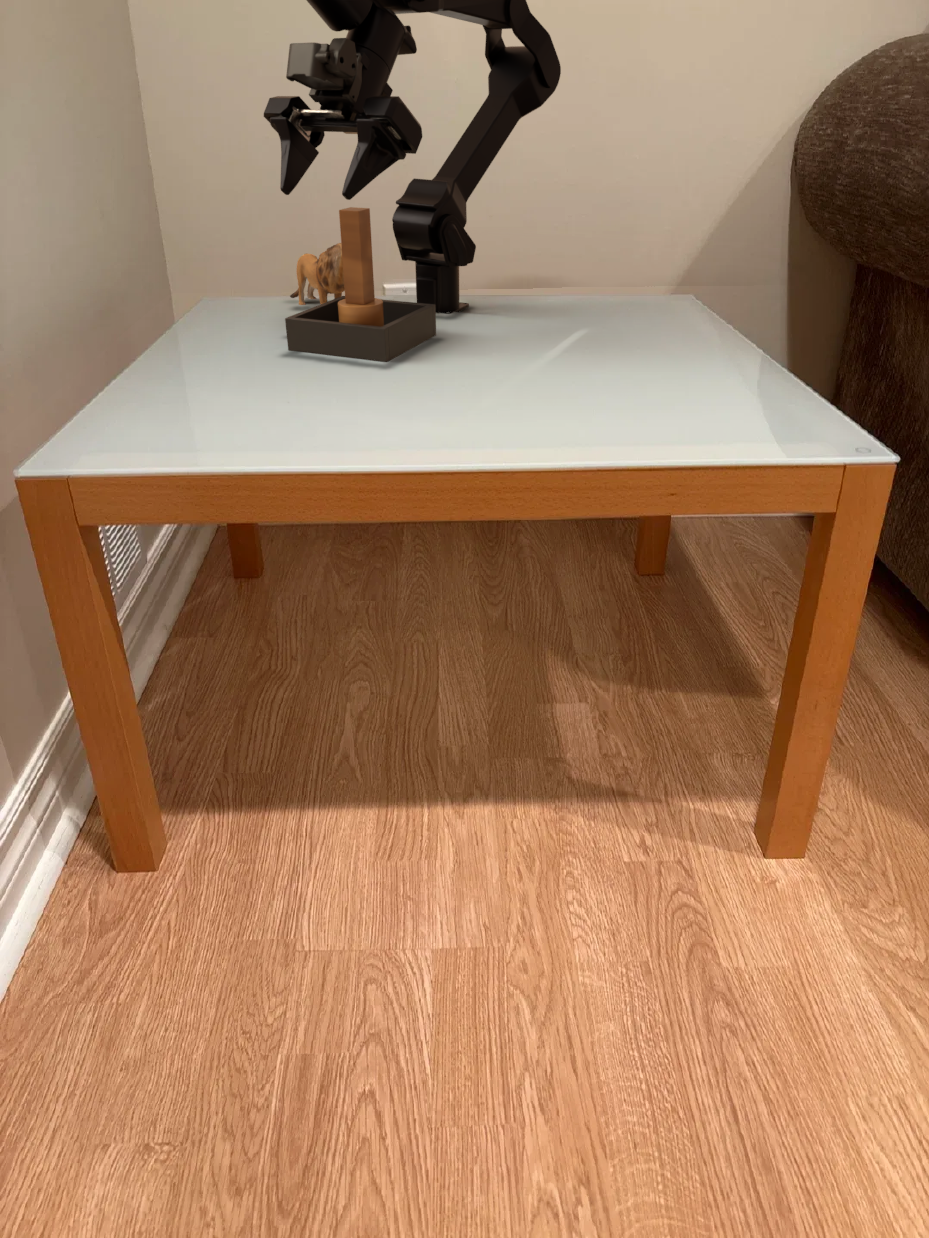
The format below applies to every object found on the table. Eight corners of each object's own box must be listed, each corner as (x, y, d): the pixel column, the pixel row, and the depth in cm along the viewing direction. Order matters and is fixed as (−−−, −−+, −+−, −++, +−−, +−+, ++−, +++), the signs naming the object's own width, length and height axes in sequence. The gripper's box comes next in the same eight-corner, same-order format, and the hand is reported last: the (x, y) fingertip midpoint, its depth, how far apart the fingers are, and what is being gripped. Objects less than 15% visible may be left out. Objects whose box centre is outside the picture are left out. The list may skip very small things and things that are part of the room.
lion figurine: (372, 315, 120) (367, 242, 116) (339, 322, 117) (334, 247, 112) (305, 298, 129) (299, 230, 125) (274, 304, 126) (266, 234, 122)
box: (345, 330, 114) (342, 295, 112) (436, 339, 109) (435, 304, 107) (288, 355, 104) (284, 318, 102) (386, 367, 100) (384, 329, 98)
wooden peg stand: (355, 340, 107) (345, 205, 100) (392, 344, 106) (386, 207, 98) (332, 350, 104) (321, 211, 96) (371, 355, 102) (363, 213, 94)
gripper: (257, 11, 98) (204, 145, 98) (391, 2, 89) (333, 150, 88) (320, 84, 108) (272, 206, 107) (447, 83, 98) (395, 217, 98)
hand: (314, 195), depth 100 cm, fingers open, 9 cm apart
